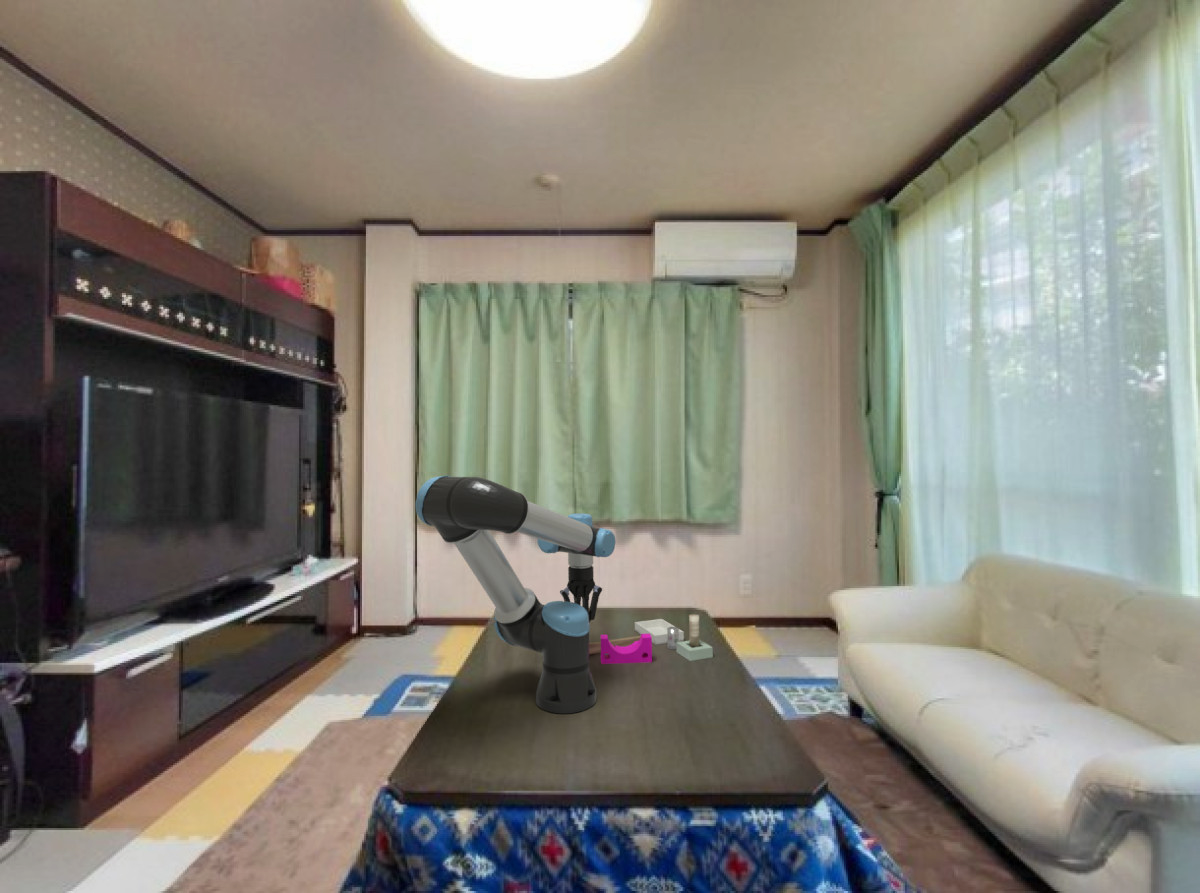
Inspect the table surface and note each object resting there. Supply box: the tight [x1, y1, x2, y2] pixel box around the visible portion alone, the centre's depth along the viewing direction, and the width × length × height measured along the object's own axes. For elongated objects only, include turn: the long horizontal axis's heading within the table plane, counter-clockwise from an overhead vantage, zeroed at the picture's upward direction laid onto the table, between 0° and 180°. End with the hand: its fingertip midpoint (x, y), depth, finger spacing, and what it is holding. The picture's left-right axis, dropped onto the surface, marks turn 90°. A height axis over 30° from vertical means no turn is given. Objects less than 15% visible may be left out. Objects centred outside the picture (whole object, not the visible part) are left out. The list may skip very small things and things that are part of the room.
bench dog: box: [666, 626, 680, 651], centre depth 174 cm, size 4×4×6 cm
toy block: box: [600, 634, 653, 665], centre depth 165 cm, size 15×6×8 cm, turn 93°
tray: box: [634, 618, 685, 646], centre depth 186 cm, size 16×11×3 cm
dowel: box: [688, 613, 700, 648], centre depth 168 cm, size 3×3×12 cm
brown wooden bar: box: [589, 635, 641, 655], centre depth 172 cm, size 2×22×3 cm, turn 111°
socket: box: [676, 639, 714, 662], centre depth 168 cm, size 8×8×3 cm
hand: (582, 644), depth 163 cm, fingers closed
